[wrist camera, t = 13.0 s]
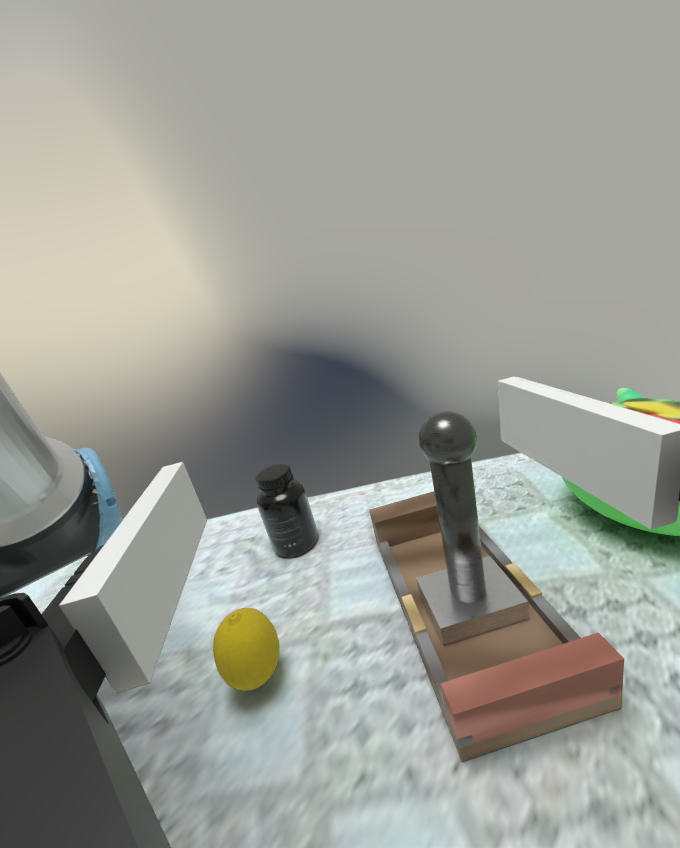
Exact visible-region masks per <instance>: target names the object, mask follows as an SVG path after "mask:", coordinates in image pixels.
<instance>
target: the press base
mask: <svg viewBox="0 0 680 848" xmlns="http://www.w3.org/2000/svg"><path fill="white" fill-rule="evenodd" d="M369 511H370V515H371V519H372V524H373V528H374V532H375V537H376V541H377V545H378V547H379V550H380V552H381V555H382V558H383V560H384V563H385V565H386V568H387V570H388V573H389V576H390V578H391V581H392V583H393V586H394V588H395V591H396V594H397V596H398V599H399V601H400V604H401V606H402V609H403V612H404V614H405V617H406V619H407V622H408V624H409V627H410V630H411V632H412V635H413V637H414V640H415V642H416V645H417V648H418V650H419V653H420V655H421V658H422V660H423V663H424V665H425V668H426V671H427V673H428V676H429V678H430V681H431V683H432V686H433V689H434V691H435V694H436V696H437V699H438V701H439V704H440V707H441V709H442V712H443V714H444V717H445V719H446V722H447V725H448V727H449V730H450V732H451V735H452V737H453V740H454V743H455V745H456V748H457V750H458V753H459V755H460V758H461V761H462V762H464V761H467V760H469V759H472V758H475V757H478V756H481V755H484V754H487V753H490V752H493V751H496V750H499V749H502V748H505V747H508V746H511V745H514V744H517V743H520V742H523V741H526V740H529V739H531V738H534V737H537V736H540V735H543V734H546V733H549V732H552V731H555V730H558V729H561V728H564V727H567V726H570V725H573V724H576V723H579V722H582V721H585V720H588V719H591V718H594V717H596V716H599V715H602V714H605V713H608V712H611V711H614V710H617V709H620V708H621V704H622V686H623V669H624V658H623V657H622V656H621V655H620V654H619V653H618V652H617V651H616V650H615V649H614V648H613V647H612V646H611V645H610V644H609V643H608V642H607V641H606V640H605V639H604V638H603V637H602V636H601V635H600V634H599V633H596V634H593V635H589V636H586V637H583V638H580V637H579V636H578V635H577V633H576V632H575V631H574V630H573V629H572V628H571V627H570V626H569V625H568V623H567V622H566V621H565V620H564V619H563V618H562V617H561V616H560V615H559V614H558V612H557V611H556V610H555V609H554V608H553V607H552V606H551V605H550V604H549V603H548V601H547V600H546V599H545V598H544V597H543V596H542V592H541V591H540V590H539V589H538V588H537V587H536V586H535V585H534V584H533V583H532V582H531V580H530V579H529V578H528V577H527V576H526V575H525V574H524V573H523V572H522V571H521V569H520V568H519V567H518V566H517V565H516V564H515V563H512V562H511V561H510V560H509V558H508V557H507V556H506V555H505V554H504V553H503V552H502V551H501V550H500V549H499V547H498V546H497V545H496V544H495V543H494V542H493V541H492V540H491V539H490V538H489V536H488V535H487V534H486V533H485V532H484V531H483V530H482V529H481V528H480V527H479V533H480V542H481V551H482V558H484V557H487V556H491V558H492V559H493V560H494V561H495V562H496V564H497V565H498V566H499V567H500V568H501V570H502V571H503V572H504V573H505V574H506V575H507V577H508V578H509V579H510V580H511V581H512V583H513V584H514V585H515V586H516V587H517V589H518V590H519V591H520V592H521V593H522V595H523V596H524V597H525V598H526V599H527V600H528V606H529V619H526V620H523V621H520V622H516V623H513V624H510V625H507V626H504V627H501V628H497V629H494V630H491V631H488V632H485V633H481V634H478V635H475V636H472V637H469V638H466V639H462V640H459V641H456V642H453V643H450V644H446V645H443V643H442V641H441V639H440V637H439V635H438V632H437V630H436V628H435V626H434V624H433V622H432V620H431V618H430V616H429V613H428V611H427V609H426V607H425V605H424V603H423V601H422V599H421V596H420V594H419V591H418V586H417V581H416V578H417V577H421V576H424V575H427V574H431V573H434V572H437V571H441V570H444V569H447V567H446V561H445V555H444V548H443V542H442V536H441V529H440V523H439V517H438V510H437V504H436V498H435V492H430V493H427V494H423V495H420V496H416V497H413V498H409V499H406V500H402V501H399V502H395V503H392V504H388V505H385V506H381V507H377V508H374V509H370V510H369Z"/></svg>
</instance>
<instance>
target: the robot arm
mask: <svg viewBox="0 0 680 848" xmlns="http://www.w3.org/2000/svg"><path fill="white" fill-rule="evenodd" d="M498 390H499V408H500V426H501V440H502V441H503V442H505V443H507V444H508V445H510V446H512V447H513V448H515V449H517V450H518V451H520V452H522V453H523V454H525V455H527V456H528V457H530V458H532V459H533V460H535V461H537V462H538V463H540V464H542V465H543V466H545V467H547V468H548V469H550V470H552V471H553V472H555V473H557V474H558V475H560V476H562V477H563V478H565V479H567V480H568V481H570V482H572V483H573V484H575V485H577V486H578V487H580V488H582V489H583V490H585V491H587V492H588V493H590V494H592V495H594V496H595V497H597V498H599V499H600V500H602V501H604V502H605V503H607V504H609V505H610V506H612V507H614V508H615V509H617V510H619V511H620V512H622V513H624V514H625V515H627V516H629V517H630V518H632V519H634V520H635V521H637V522H639V523H640V524H642V525H644V526H645V527H647V528H649V529H650V530H651V529H655V528H658V527H661V526H665V525H668V524H671V523H674V522H676V521H677V515H678V508H679V501H680V424H678V423H674V422H671V421H667V420H664V419H660V418H657V417H654V416H650V415H647V414H643V413H640V412H636V411H633V410H629V409H626V408H622V407H619V406H615V405H612V404H609V403H605V402H602V401H598V400H595V399H591V398H587V397H584V396H581V395H577V394H574V393H570V392H567V391H564V390H560V389H557V388H553V387H550V386H546V385H543V384H539V383H536V382H532V381H529V380H525V379H522V378H518V377H511V378H507V379H503V380H500V381H498ZM206 522H207V519H206V517H205V515H204V512H203V509H202V507H201V505H200V502H199V500H198V497H197V495H196V492H195V490H194V488H193V485H192V483H191V480H190V478H189V476H188V473H187V471H186V469H185V466H184V463H183V462H180V463H177V464H173V465H169V466H165V467H163V468H162V469H161V470H160V472H159V473H158V474H157V476H156V477H155V478H154V480H153V481H152V482H151V484H150V485H149V486H148V488H147V489H146V490H145V492H144V493H143V494H142V496H141V497H140V498H139V500H138V501H137V502H136V504H135V505H134V506H133V508H132V509H131V510H130V512H129V513H128V514H127V516H126V517H125V518H124V520H123V519H122V515H121V511H120V508H119V505H118V502H117V500H116V499H115V494H114V491H113V488H112V486H111V483H110V480H109V478H108V476H107V473H106V471H105V469H104V467H103V465H102V463H101V461H100V460H99V457H98V456H97V454H96V453H95V452H94V451H93V450H92V449H89V448H82V449H72V448H71V447H70V446H68V445H67V444H65V443H63V442H61V441H58V440H55V439H52V438H48V437H44V436H43V435H42V433H41V432H40V430H39V429H38V427H37V426H36V425H35V423H34V422H33V420H32V419H31V417H30V416H29V414H28V413H27V411H26V410H25V409H24V407H23V406H22V404H21V403H20V401H19V400H18V398H17V397H16V396H15V394H14V393H13V391H12V390H11V388H10V387H9V385H8V384H7V382H6V381H5V379H4V378H3V376H2V375H1V374H0V848H171V847H170V845H169V843H168V840H167V838H166V836H165V834H164V832H163V830H162V828H161V826H160V824H159V821H158V819H157V817H156V815H155V813H154V811H153V809H152V807H151V804H150V802H149V800H148V798H147V796H146V794H145V792H144V790H143V788H142V785H141V783H140V781H139V779H138V777H137V775H136V773H135V771H134V769H133V766H132V764H131V762H130V760H129V758H128V756H127V754H126V752H125V749H124V747H123V745H122V743H121V741H120V739H119V737H118V735H117V733H116V730H115V728H114V726H113V724H112V722H111V720H110V718H109V716H108V713H107V711H106V709H105V707H104V705H103V703H102V702H101V700H100V699H99V697H98V696H97V695H96V694H97V692H98V690H99V688H100V686H101V684H102V682H103V680H104V678H105V677H106V678H107V680H108V681H109V683H110V684H111V686H112V687H113V689H114V690H115V692H116V693H119V692H122V691H126V690H129V689H132V688H135V687H139V686H142V685H145V684H149V683H150V681H151V678H152V675H153V672H154V670H155V667H156V664H157V661H158V658H159V655H160V653H161V650H162V647H163V644H164V641H165V638H166V636H167V633H168V630H169V627H170V624H171V621H172V619H173V616H174V613H175V610H176V607H177V604H178V601H179V599H180V596H181V593H182V590H183V587H184V584H185V582H186V579H187V576H188V573H189V570H190V567H191V565H192V562H193V559H194V556H195V553H196V550H197V548H198V545H199V542H200V539H201V536H202V533H203V531H204V528H205V525H206ZM85 556H88V557H87V558H86V559H85V560H84V561H83V562H82V564H81V565H80V566H79V567H78V569H77V570H76V571H75V572H74V575H73V576H71V578H70V579H69V580H68V581H67V583H66V584H65V587H63V588H62V589H61V590H60V591H59V593H58V594H57V595H56V597H55V598H54V599H53V600H52V602H51V603H50V604H49V605H48V607H47V608H46V609H45V611H44V612H43V613H42V614H41V613H40V612H39V610H38V609H37V607H36V606H35V604H34V603H33V602H32V600H31V599H30V597H29V596H28V595H26V594H25V593H16V594H11V593H13V592H15V591H17V590H19V589H21V588H23V587H25V586H27V585H29V584H31V583H33V582H35V581H37V580H39V579H41V578H43V577H45V576H47V575H49V574H51V573H53V572H55V571H57V570H59V569H61V568H63V567H65V566H67V565H69V564H71V563H73V562H75V561H77V560H79V559H81V558H83V557H85ZM9 594H11V595H9ZM7 595H8V596H7ZM5 596H6V597H5Z"/></svg>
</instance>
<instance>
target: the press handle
mask: <svg viewBox="0 0 680 848" xmlns="http://www.w3.org/2000/svg"><path fill="white" fill-rule="evenodd" d="M476 444H477V436H476V431H475V428H474V427H473V425H472V424H471V422H470V421H469V420H468V419H467V418H466V417H464V416H463V415H461V414H459V413H455V412H450V411H445V412H439V413H436V414H434V415H432V416H431V417H429V418H428V419H427V420H426V421H425V422H424V424H423V425H422V427H421V429H420V433H419V445H420V448H421V450H422V452H423V454H424V455H425V456H426V458H427V459H428V460H430V466H431V473H432V479H433V485H434V492H435V498H436V504H437V510H438V517H439V523H440V529H441V536H442V542H443V548H444V555H445V561H446V567H447V569H444V570H441V571H437V572H434V573H431V574H427V575H424V576H421V577H417V578H416V581H417V586H418V591H419V594H420V596H421V599H422V601H423V603H424V605H425V607H426V609H427V611H428V613H429V616H430V618H431V620H432V622H433V624H434V626H435V628H436V630H437V632H438V635H439V637H440V639H441V641H442V643H443V645H446V644H450V643H453V642H456V641H459V640H462V639H466V638H469V637H472V636H475V635H478V634H481V633H485V632H488V631H491V630H494V629H497V628H501V627H504V626H507V625H510V624H513V623H516V622H520V621H523V620H526V619H529V606H528V600H527V599H526V598H525V597H524V596H523V595H522V593H521V592H520V591H519V590H518V589H517V587H516V586H515V585H514V584H513V583H512V581H511V580H510V579H509V578H508V577H507V575H506V574H505V573H504V572H503V571H502V570H501V568H500V567H499V566H498V565H497V564H496V562H495V561H494V560H493V559H492V558H491V556H487V557H484V558H482V551H481V542H480V533H479V525H478V516H477V507H476V498H475V490H474V481H473V472H472V463H471V455H472V454H473V452H474V450H475V448H476Z"/></svg>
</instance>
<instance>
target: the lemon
mask: <svg viewBox="0 0 680 848" xmlns="http://www.w3.org/2000/svg"><path fill="white" fill-rule="evenodd" d="M213 653H214V659H215V663H216V666H217V669H218V672H219V674H220V675H221V677H222V678H223V679H224V681H225V682H226V683H227V684H228V685H229V686H231V687H233V688H235V689H237V690H242V691H248V690H253V689H256V688H258V687H260V686H261V685H263V684H264V683H265V682H266V681H267V680H268V679H269V678H270V677H271V675H272V674H273V672H274V670H275V668H276V666H277V663H278V659H279V641H278V637H277V634H276V631H275V628H274V626H273V625H272V623H271V622H270V621H269V619H268V618H267V617H266V616H265V615H264V614H263V613H262V612H260V611H258V610H256V609H252V608H242V609H238V610H236V611H234V612H232V613H230V614H229V615H228V616H227V617H226V618H225V619H224V620H223V621H222V622H221V624H220V625H219V627H218V629H217V631H216V634H215V637H214V645H213Z"/></svg>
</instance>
